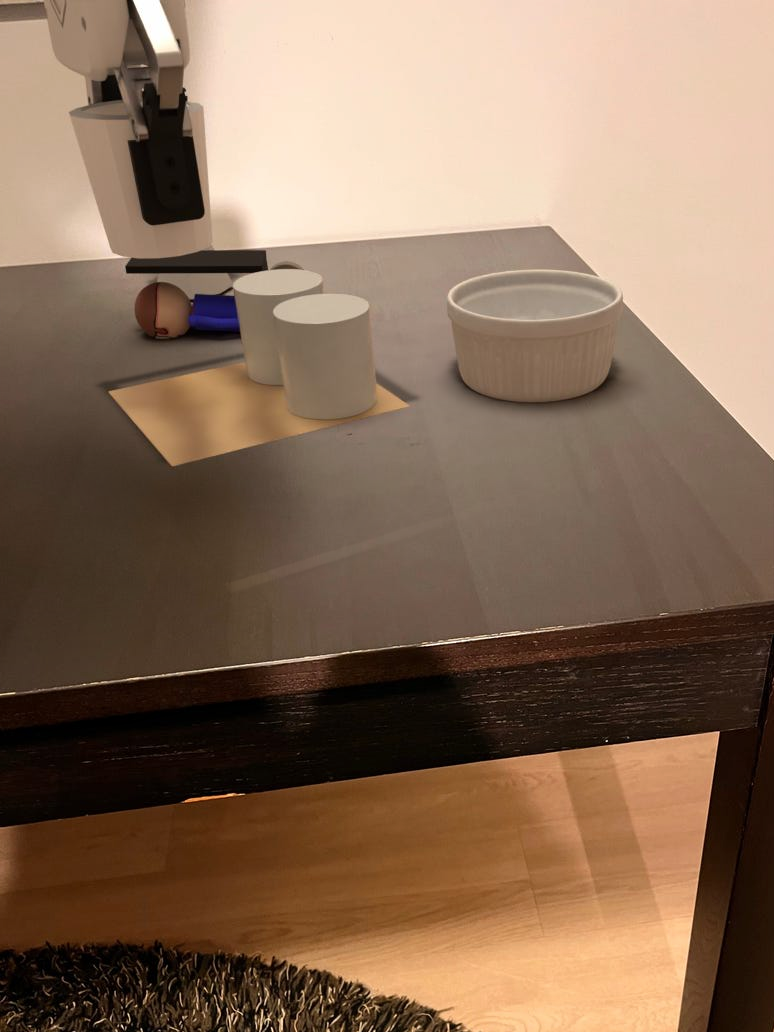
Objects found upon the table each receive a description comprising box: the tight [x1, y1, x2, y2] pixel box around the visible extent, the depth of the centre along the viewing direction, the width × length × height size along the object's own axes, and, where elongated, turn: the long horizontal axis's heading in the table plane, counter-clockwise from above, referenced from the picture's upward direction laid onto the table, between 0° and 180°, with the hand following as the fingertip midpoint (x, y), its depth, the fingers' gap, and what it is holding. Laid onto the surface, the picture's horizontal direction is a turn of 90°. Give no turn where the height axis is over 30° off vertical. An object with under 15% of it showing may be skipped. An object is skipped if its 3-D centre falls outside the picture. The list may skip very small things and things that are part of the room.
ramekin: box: [446, 269, 624, 403], centre depth 77 cm, size 13×13×7 cm
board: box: [107, 361, 411, 467], centre depth 77 cm, size 18×16×1 cm
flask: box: [156, 243, 234, 300], centre depth 99 cm, size 7×7×10 cm
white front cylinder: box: [273, 293, 377, 420], centre depth 73 cm, size 7×7×7 cm
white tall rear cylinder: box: [232, 269, 325, 386], centre depth 79 cm, size 7×7×7 cm
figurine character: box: [124, 249, 305, 340], centre depth 88 cm, size 7×8×15 cm
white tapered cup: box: [68, 99, 213, 259], centre depth 55 cm, size 7×7×7 cm
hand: (153, 204), depth 56 cm, fingers closed on white tapered cup, 6 cm apart
